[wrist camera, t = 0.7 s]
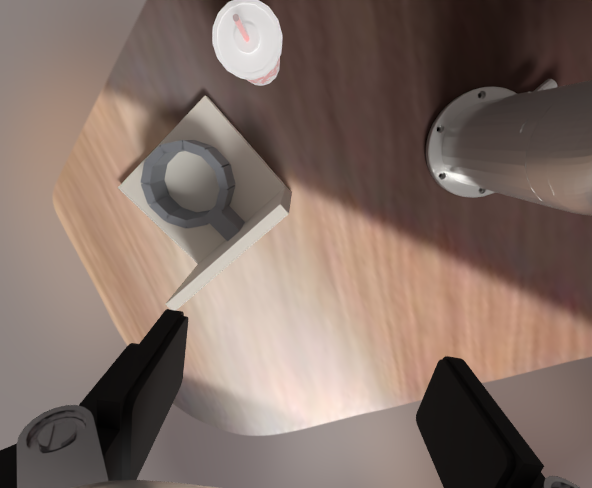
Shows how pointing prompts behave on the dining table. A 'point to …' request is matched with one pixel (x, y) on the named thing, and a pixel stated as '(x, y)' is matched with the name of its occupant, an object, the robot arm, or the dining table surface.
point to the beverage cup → (248, 40)
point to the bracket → (207, 194)
